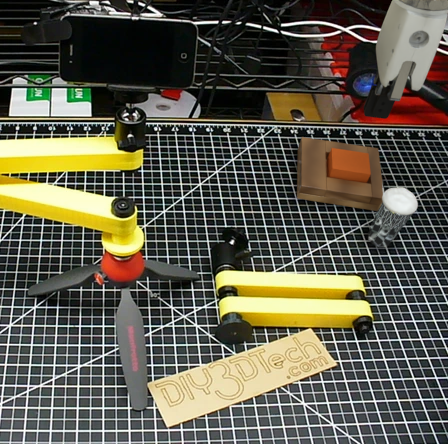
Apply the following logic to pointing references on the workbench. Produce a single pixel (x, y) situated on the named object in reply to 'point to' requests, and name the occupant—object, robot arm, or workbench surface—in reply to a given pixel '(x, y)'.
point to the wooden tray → (331, 187)
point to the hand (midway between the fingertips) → (375, 113)
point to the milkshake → (391, 215)
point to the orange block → (348, 165)
